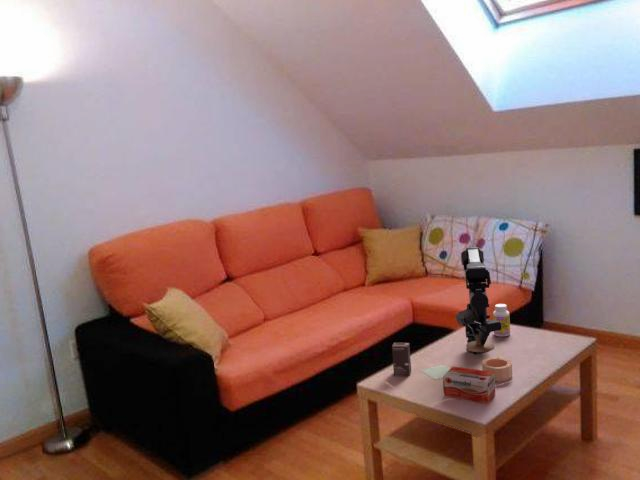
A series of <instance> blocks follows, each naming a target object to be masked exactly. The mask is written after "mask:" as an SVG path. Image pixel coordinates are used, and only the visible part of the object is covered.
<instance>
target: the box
mask: <svg viewBox="0 0 640 480" xmlns="http://www.w3.org/2000/svg"><path fill="white" fill-rule="evenodd" d="M410 350H411V346H410V342H395V341H394V342H393V344H392V345H391V352H392V353H391V354H392V367H393V376H394V377H410V376H411V373H412V363H411V362H412V361H411V351H410Z"/></svg>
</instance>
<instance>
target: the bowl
mask: <svg viewBox="0 0 640 480" xmlns="http://www.w3.org/2000/svg"><path fill="white" fill-rule="evenodd" d="M481 370H482V371H489V372H494V378H495V382H505V381H508V380H510V379H511V378H512V377H513V363H512V360H509V359H507V358H505V357H488V358H485V359H484V360H482V361H481Z"/></svg>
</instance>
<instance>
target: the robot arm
mask: <svg viewBox="0 0 640 480" xmlns="http://www.w3.org/2000/svg"><path fill="white" fill-rule="evenodd" d="M484 262H485V257H484V251H482V250H481V249H480V247H478V246H468V247H466V248H465V250H464V251H462V252H461V253H460V263H461V266H462V269H463V271H464V273H465V274H464V277H465V285H466V290H467V289H468V295H469V297H468V298H469V299H468V300H469V303H467V304H466V309H463V310H461V311H459V312H458V313H457V314H455V316H454V317H455V319H456V322H457V324H458V325H461V326H462V327H465V329H464V331H465V338H466V339H467V340H466V342H467V343H469V342H472V341H476V334H477V333H479V334H480V341H481V345H485V343H486V341H488V338H489V336H490V334H491V333H494V331H498V330H502V323H500V322H499V321H497V320H494V319H493V318H492V319H491V315H489V314H488V308H490V304H489V301H490V300H489V296H488V295H487V289H490V285H491V283H492V282H491V272H490V271H489V269H488V268H486V264H485V263H484ZM467 343H466V344H467ZM465 349H466V351H468V352H470V353H472V354H474V355H478V354H483V353H484V352H472V351H469V350H468V349H467V348H466V347H465Z"/></svg>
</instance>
